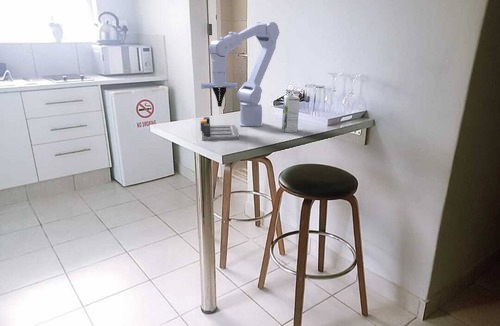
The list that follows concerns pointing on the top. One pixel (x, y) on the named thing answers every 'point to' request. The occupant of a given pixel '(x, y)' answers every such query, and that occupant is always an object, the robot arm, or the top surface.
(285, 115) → the syrup box
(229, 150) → the top surface
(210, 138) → the panel
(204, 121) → the toggle
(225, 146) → the top surface
